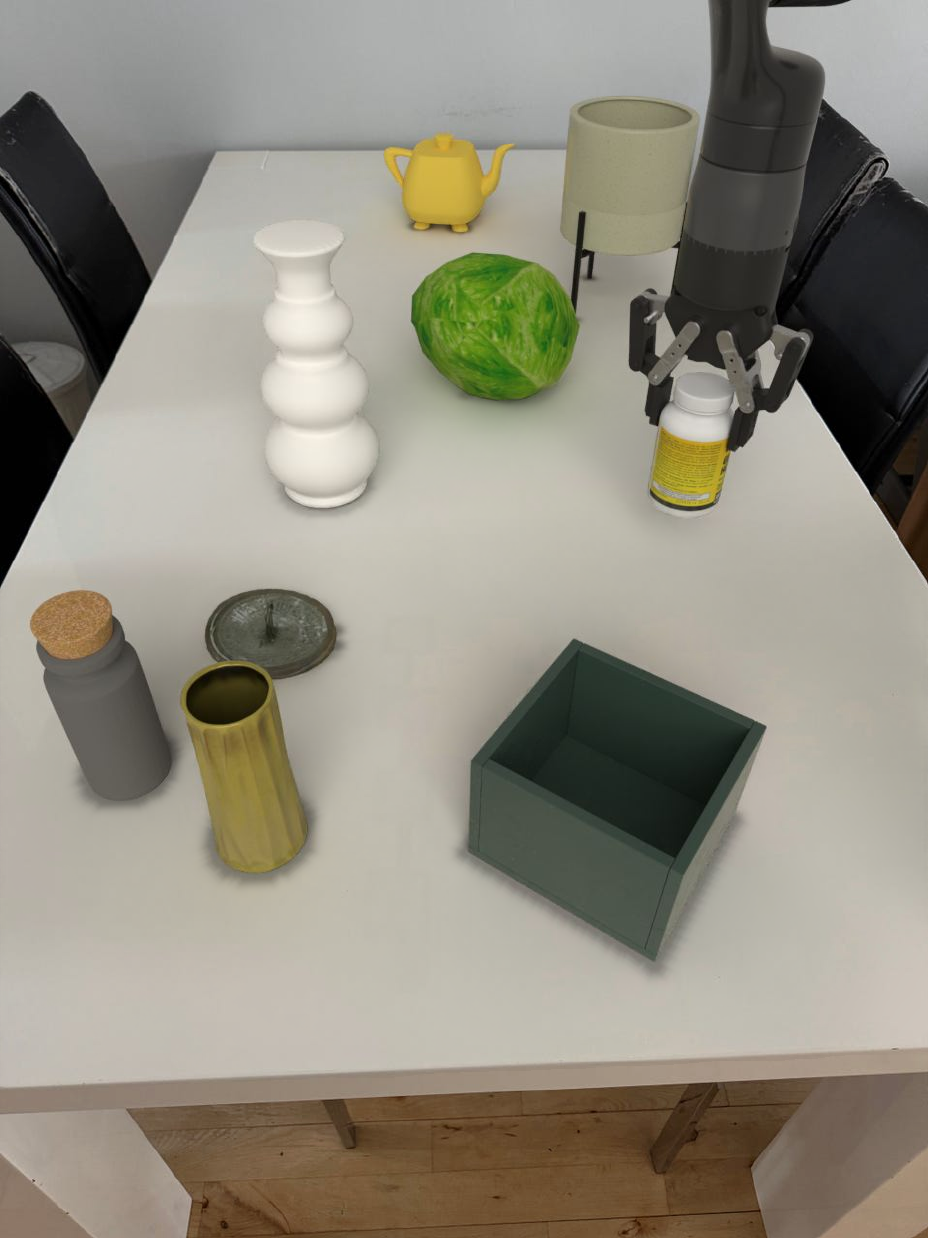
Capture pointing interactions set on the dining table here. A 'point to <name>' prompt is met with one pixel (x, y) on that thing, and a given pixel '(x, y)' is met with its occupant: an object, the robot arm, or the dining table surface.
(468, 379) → the lettuce
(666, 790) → the open box
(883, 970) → the dining table surface
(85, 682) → the bottle
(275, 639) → the lid
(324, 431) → the vase
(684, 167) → the planter
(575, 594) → the dining table surface
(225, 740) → the vase
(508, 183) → the dining table surface
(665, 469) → the pill bottle
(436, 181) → the teapot
